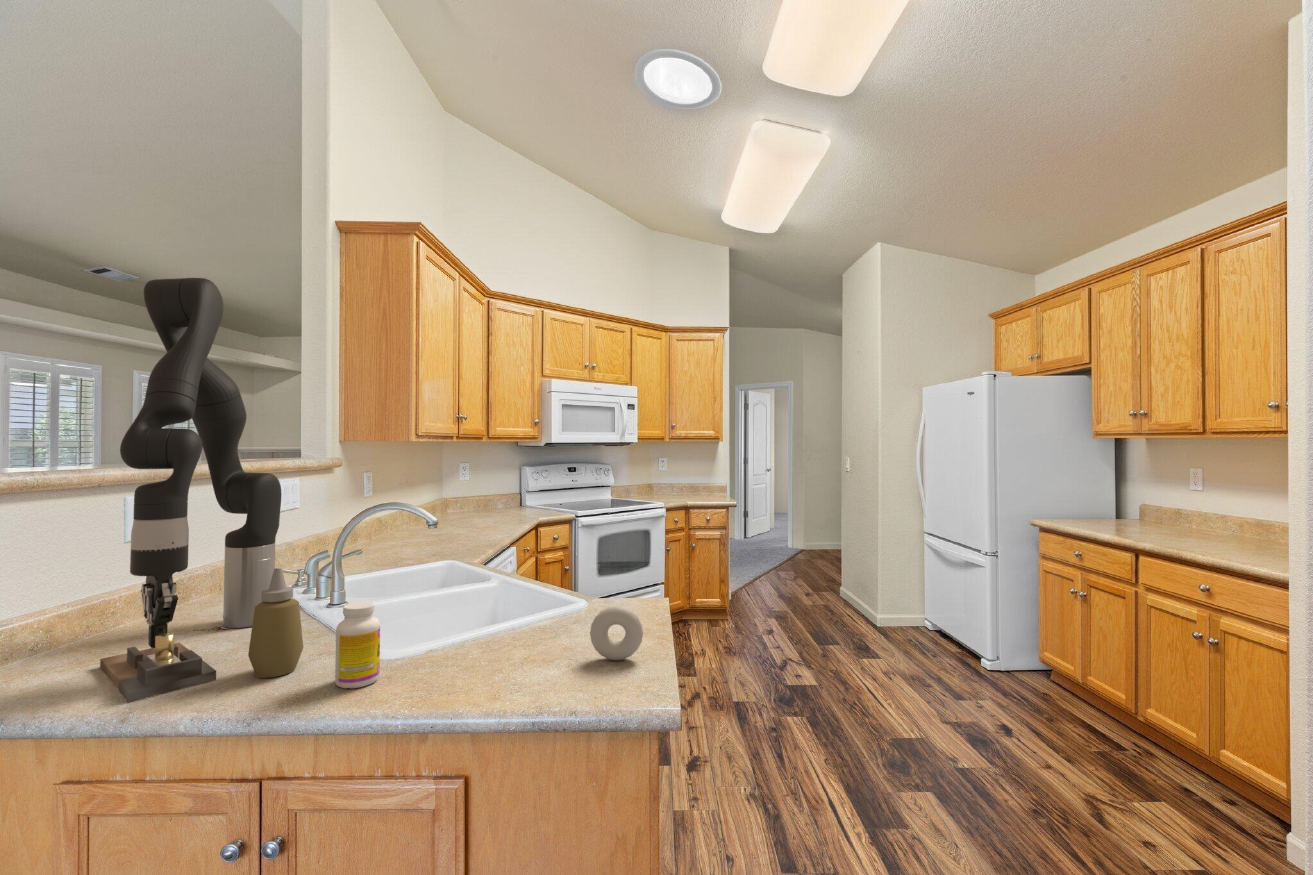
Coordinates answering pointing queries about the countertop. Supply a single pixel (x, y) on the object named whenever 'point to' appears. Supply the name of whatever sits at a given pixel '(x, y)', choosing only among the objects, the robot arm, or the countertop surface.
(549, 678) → the countertop surface
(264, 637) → the squeeze bottle
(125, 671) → the door board
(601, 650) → the donut
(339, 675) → the supplement bottle
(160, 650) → the lock bolt
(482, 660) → the countertop surface
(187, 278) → the robot arm
